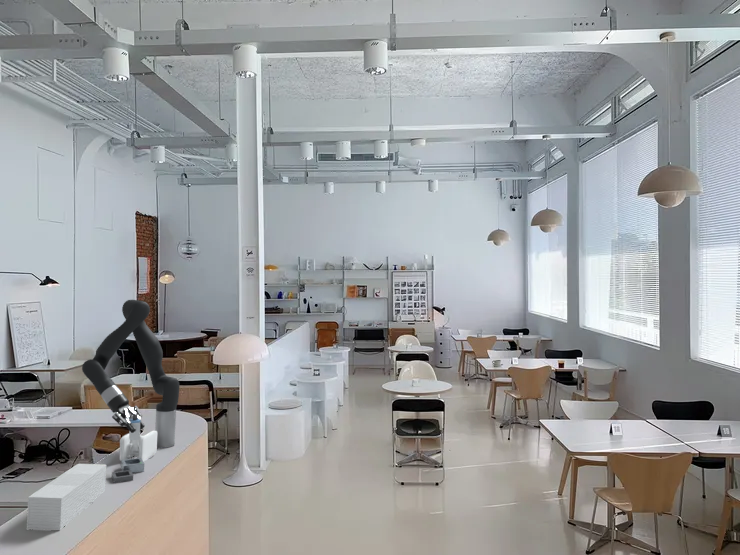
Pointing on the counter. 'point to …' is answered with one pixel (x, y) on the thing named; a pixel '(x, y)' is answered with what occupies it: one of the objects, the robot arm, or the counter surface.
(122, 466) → the port
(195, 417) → the counter surface
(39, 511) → the stack of papers
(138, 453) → the cable organizer
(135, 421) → the plug
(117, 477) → the holster
